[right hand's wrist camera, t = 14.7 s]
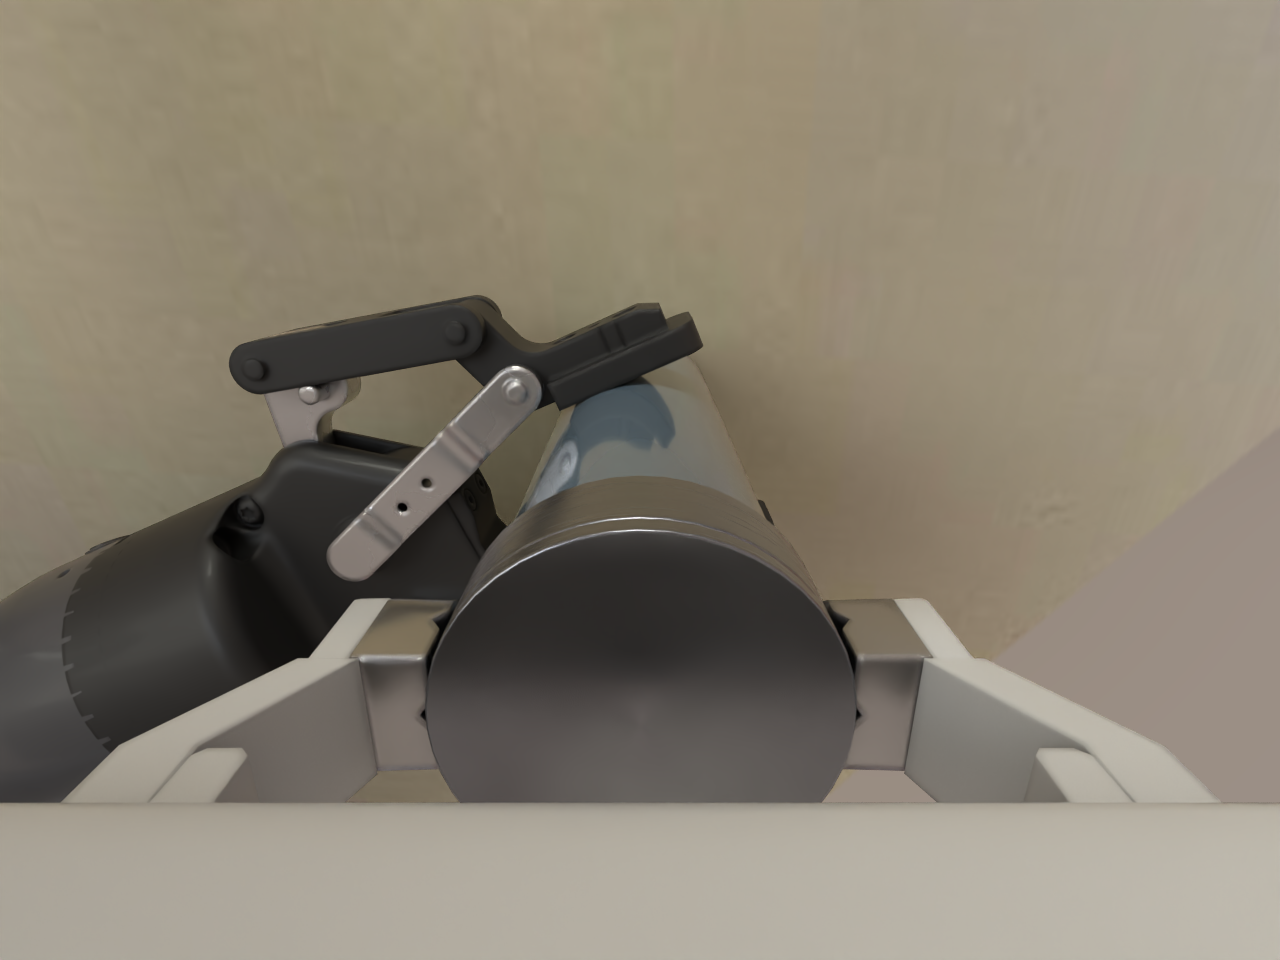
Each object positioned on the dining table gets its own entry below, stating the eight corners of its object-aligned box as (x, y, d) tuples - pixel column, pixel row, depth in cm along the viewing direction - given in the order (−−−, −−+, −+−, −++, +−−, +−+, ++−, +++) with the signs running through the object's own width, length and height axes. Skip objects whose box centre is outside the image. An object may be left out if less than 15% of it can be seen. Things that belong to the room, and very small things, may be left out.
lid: (835, 471, 9) (880, 526, 8) (807, 781, 11) (838, 882, 9) (440, 477, 9) (395, 533, 8) (479, 785, 11) (449, 887, 9)
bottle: (728, 444, 24) (866, 773, 10) (602, 491, 25) (549, 867, 10) (680, 314, 23) (757, 467, 8) (547, 368, 23) (390, 602, 9)
